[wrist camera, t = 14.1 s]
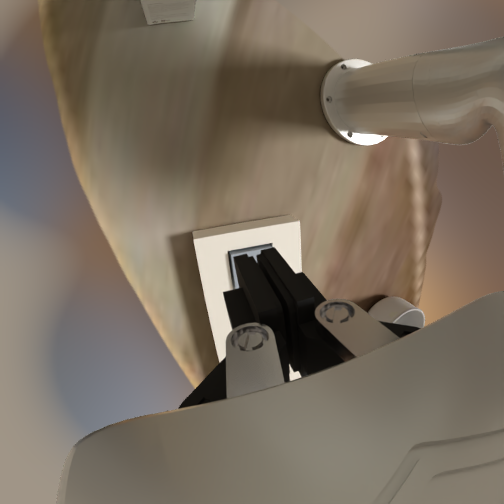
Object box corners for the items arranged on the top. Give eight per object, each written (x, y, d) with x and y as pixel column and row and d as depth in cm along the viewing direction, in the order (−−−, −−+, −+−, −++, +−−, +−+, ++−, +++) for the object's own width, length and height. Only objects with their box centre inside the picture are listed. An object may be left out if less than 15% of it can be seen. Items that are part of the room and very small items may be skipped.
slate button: (267, 241, 37) (271, 247, 35) (269, 276, 39) (274, 283, 37) (228, 248, 36) (230, 254, 34) (233, 283, 38) (236, 291, 36)
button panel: (291, 214, 38) (299, 220, 36) (295, 380, 51) (301, 391, 48) (192, 231, 36) (193, 239, 33) (228, 397, 49) (231, 409, 46)
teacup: (351, 307, 47) (376, 333, 40) (399, 278, 48) (427, 299, 41) (360, 355, 53) (381, 381, 46) (402, 329, 54) (425, 351, 47)
